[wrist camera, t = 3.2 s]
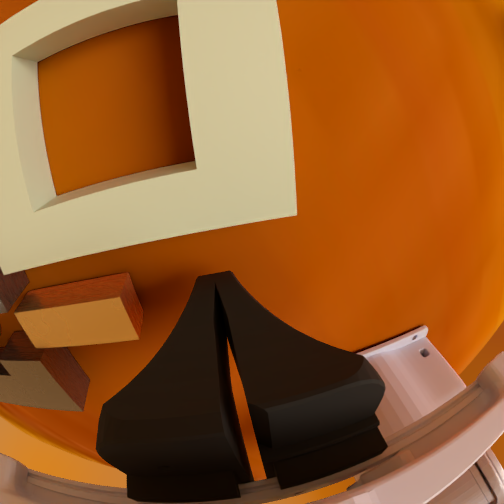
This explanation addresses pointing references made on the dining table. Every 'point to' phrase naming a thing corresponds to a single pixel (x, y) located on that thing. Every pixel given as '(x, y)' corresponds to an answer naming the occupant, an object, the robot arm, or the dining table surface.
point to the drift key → (82, 313)
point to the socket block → (37, 364)
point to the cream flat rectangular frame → (161, 179)
